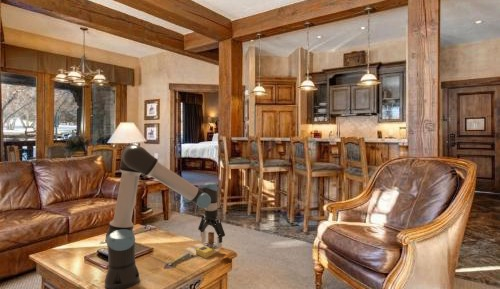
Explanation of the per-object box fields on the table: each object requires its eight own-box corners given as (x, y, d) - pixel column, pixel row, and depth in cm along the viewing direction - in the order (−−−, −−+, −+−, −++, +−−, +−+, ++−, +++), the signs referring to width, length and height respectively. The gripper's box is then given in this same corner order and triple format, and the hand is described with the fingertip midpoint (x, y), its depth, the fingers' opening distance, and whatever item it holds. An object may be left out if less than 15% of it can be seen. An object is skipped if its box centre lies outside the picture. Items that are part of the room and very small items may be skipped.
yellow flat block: (205, 257, 169) (205, 252, 169) (195, 254, 174) (195, 248, 174) (213, 254, 173) (213, 248, 173) (203, 250, 178) (203, 245, 178)
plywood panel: (201, 260, 168) (201, 258, 168) (180, 252, 179) (180, 250, 179) (219, 252, 179) (219, 250, 179) (199, 245, 190) (199, 243, 190)
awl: (211, 251, 178) (211, 234, 177) (207, 249, 180) (207, 233, 180) (215, 249, 181) (215, 232, 180) (211, 248, 183) (211, 231, 182)
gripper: (231, 211, 174) (231, 248, 175) (201, 204, 190) (201, 238, 191) (221, 214, 168) (222, 252, 169) (192, 207, 184) (192, 241, 185)
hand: (211, 245), depth 180 cm, fingers open, 13 cm apart
